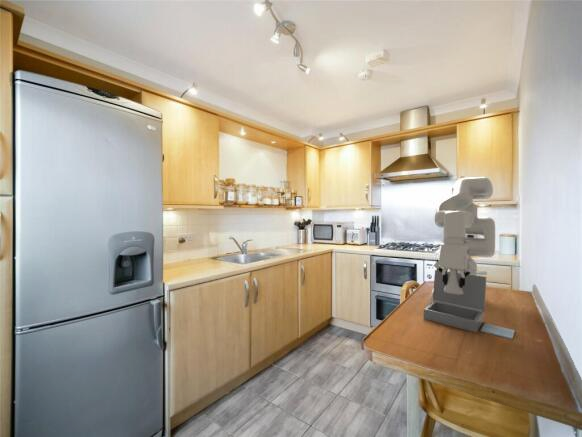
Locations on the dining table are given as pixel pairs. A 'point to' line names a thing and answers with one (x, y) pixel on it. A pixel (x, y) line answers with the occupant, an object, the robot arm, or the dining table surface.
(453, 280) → the flask
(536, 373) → the dining table surface
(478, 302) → the lid and stay
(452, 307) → the case
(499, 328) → the mat
